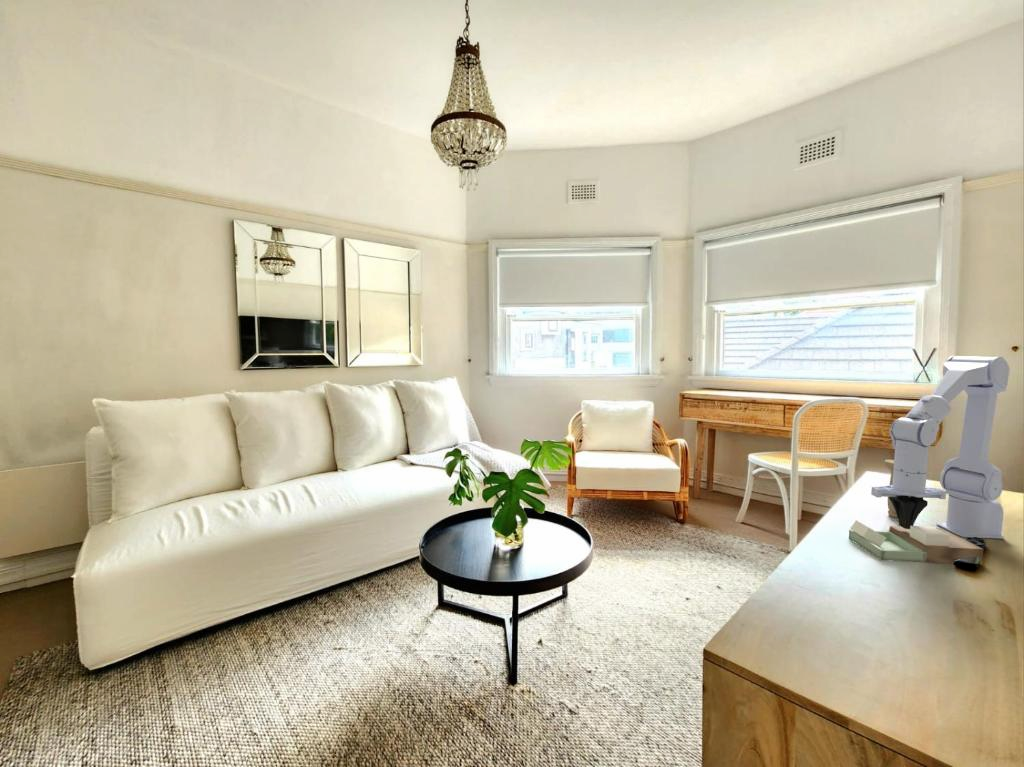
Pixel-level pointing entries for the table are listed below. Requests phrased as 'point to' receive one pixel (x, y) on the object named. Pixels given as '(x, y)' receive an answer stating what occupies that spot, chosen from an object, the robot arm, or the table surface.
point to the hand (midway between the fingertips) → (905, 527)
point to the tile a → (868, 533)
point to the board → (942, 547)
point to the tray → (890, 547)
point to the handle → (891, 465)
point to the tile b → (929, 535)
